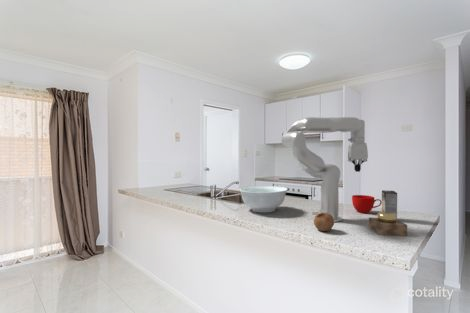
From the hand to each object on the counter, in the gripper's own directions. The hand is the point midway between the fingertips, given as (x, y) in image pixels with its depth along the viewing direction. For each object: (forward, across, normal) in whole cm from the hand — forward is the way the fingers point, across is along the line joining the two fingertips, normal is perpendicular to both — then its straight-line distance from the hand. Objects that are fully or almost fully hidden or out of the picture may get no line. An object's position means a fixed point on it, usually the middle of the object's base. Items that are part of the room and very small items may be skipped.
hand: (357, 171), depth 151 cm
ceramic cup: (+27, +10, +13) cm, 32 cm away
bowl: (+27, -56, +12) cm, 63 cm away
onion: (+27, -26, -30) cm, 48 cm away
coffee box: (+27, +16, -4) cm, 32 cm away
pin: (+27, +4, -28) cm, 39 cm away
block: (+27, +4, -28) cm, 39 cm away
